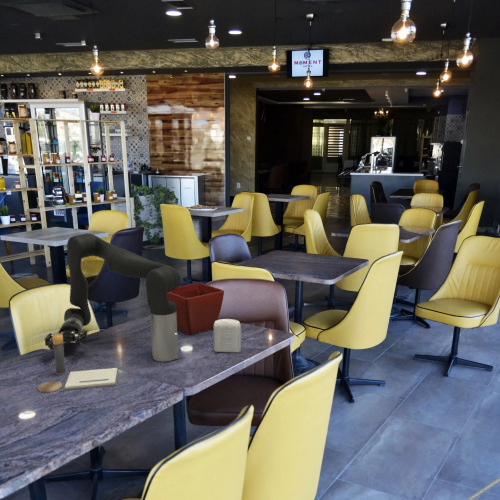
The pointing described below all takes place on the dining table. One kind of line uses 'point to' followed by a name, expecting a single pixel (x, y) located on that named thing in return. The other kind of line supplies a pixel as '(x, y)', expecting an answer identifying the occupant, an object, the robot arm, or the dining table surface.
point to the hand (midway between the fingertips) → (63, 345)
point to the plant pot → (196, 306)
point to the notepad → (91, 379)
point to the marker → (59, 354)
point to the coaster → (50, 386)
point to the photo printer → (227, 335)
